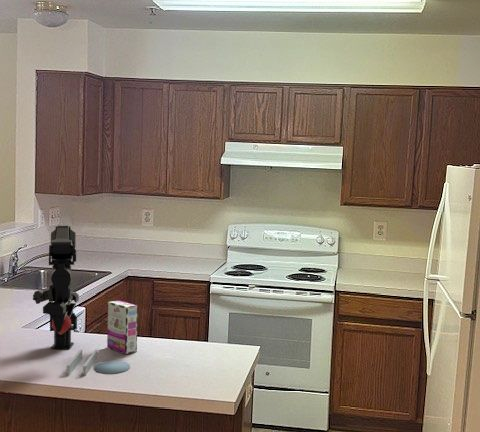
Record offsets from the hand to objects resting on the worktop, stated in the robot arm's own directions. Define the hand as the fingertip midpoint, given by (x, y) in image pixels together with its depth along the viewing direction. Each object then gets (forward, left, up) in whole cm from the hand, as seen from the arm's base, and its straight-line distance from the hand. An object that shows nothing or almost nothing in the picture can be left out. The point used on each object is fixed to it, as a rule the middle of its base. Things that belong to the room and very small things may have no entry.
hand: (61, 329), depth 209 cm
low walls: (0, +7, -12) cm, 14 cm away
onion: (0, 0, -2) cm, 2 cm away
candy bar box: (-19, +16, -12) cm, 28 cm away
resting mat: (0, +16, -12) cm, 20 cm away
